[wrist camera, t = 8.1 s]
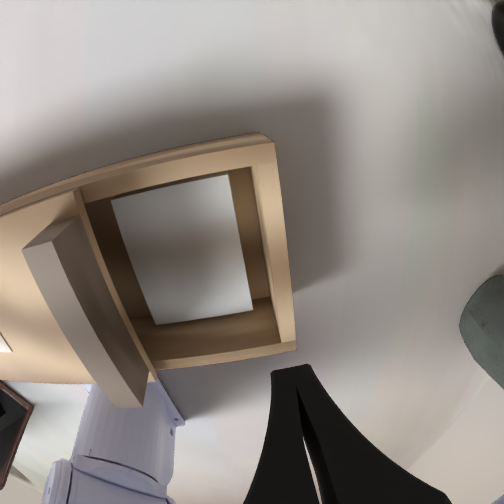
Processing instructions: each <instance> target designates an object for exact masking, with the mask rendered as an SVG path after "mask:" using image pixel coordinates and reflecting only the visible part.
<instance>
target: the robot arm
mask: <svg viewBox="0 0 504 504" xmlns="http://www.w3.org/2000/svg"><path fill="white" fill-rule="evenodd" d="M270 374H271V406H270V413H269V420H268V427H267V432H266V436H265V441H264V445H263V449H262V453H261V457H260V460H259V463H258V467H257V470H256V473H255V476H254V478H253V481H252V484H251V486H250V489H249V491H248V494H247V496H246V499H245V501H244V503H243V504H319V500H318V496H317V493H316V489H315V485H314V481H313V478H312V474H311V470H310V466H309V462H308V458H307V454H306V450H305V446H304V441H305V444H306V447H307V450H308V453H309V456H310V459H311V462H312V465H313V467H314V471H315V474H316V478H317V482H318V486H319V491H320V495H321V500H322V504H452V503H451V501H450V500H449V498H448V497H447V496H446V494H445V493H443V492H442V491H440V490H438V489H436V488H434V487H432V486H430V485H428V484H427V483H425V482H423V481H421V480H420V479H418V478H416V477H415V476H413V475H412V474H410V473H409V472H407V471H406V470H404V469H403V468H402V467H400V466H399V465H397V464H396V463H395V462H393V461H392V460H391V459H389V458H388V457H387V456H386V455H384V454H383V453H382V452H381V451H380V450H379V449H377V448H376V447H375V446H374V445H373V444H372V443H371V442H370V441H369V440H368V439H366V438H365V437H364V436H363V435H362V434H361V433H360V432H359V430H358V429H357V428H356V427H355V426H354V425H353V424H352V423H351V422H350V421H349V420H348V418H347V417H346V416H345V415H344V414H343V413H342V411H341V410H340V409H339V408H338V406H337V405H336V404H335V403H334V401H333V400H332V399H331V397H330V396H329V395H328V393H327V392H326V390H325V389H324V387H323V386H322V384H321V383H320V381H319V380H318V378H317V376H316V375H315V373H314V371H313V369H312V367H311V365H309V364H304V365H300V366H295V367H290V368H285V369H280V370H274V371H272V372H271V373H270ZM82 385H83V386H84V387H85V389H86V390H87V391H88V392H89V396H88V399H87V402H86V405H85V409H84V412H83V415H82V419H81V422H80V426H79V429H78V433H77V437H76V441H75V445H74V448H73V452H72V457H71V459H70V460H69V461H68V460H66V459H63V458H62V459H60V460H59V461H56V462H54V463H53V464H52V466H51V469H50V471H49V474H48V477H47V480H46V483H45V487H44V491H43V496H42V502H41V504H176V503H175V501H174V500H173V499H172V498H171V497H169V496H167V495H166V493H167V485H168V483H169V482H170V480H171V478H172V475H173V467H174V447H175V430H176V427H180V426H184V425H185V421H184V420H183V418H182V417H181V415H180V414H179V412H178V410H177V409H176V407H175V406H174V404H173V402H172V401H171V399H170V397H169V396H168V394H167V392H166V391H165V389H164V387H163V386H162V384H161V382H160V380H159V379H158V377H157V378H156V382H147V386H146V392H145V398H144V403H143V407H128V408H115V407H114V405H113V404H112V403H111V402H110V400H109V399H108V398H107V397H106V395H105V394H104V393H103V391H102V390H101V389H100V387H99V386H98V385H97V384H82ZM303 438H304V441H303ZM491 504H504V495H502V496H501V497H500V498H498V499H497V500H496V501H494V502H493V503H491Z"/></svg>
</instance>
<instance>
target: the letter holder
mask: <svg viewBox="0 0 504 504" xmlns="http://www.w3.org/2000/svg"><path fill="white" fill-rule="evenodd" d="M33 409H34V406H32V405H31V404H30V403H28V402H27V401H26V400H24V399H23V398H22V397H20V396H19V395H18V394H17V393H15V392H14V391H13V390H12V389H10V388H9V387H8V386H7V385H5V384H4V383H3V382H2V381H1V380H0V490H2V489H3V487H4V486H5V483H6V481H7V477H8V474H9V471H10V469H11V466H12V463H13V460H14V457H15V455H16V452H17V449H18V446H19V443H20V441H21V439H22V436H23V433H24V431H25V428H26V425H27V423H28V420H29V418H30V416H31V414H32V412H33Z"/></svg>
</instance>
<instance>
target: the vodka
mask: <svg viewBox="0 0 504 504" xmlns="http://www.w3.org/2000/svg"><path fill="white" fill-rule="evenodd" d="M459 327H460V332H461V335H462V337H463V340H464V343H465V344H466V346H467V348H468V349H469V351H470V353H471V355H472V356H473V358H474V360H475V361H476V362H477V363H478V364H479V365H480V366H481V367H482V368H483V369H484V370H485V371H486V372H487V373H488V374H489V375H490V376H491V377H492V378H493V379H494V380H495V381H496V382H497V383H498V384H499V385H500V386H501V387H502V388H503V389H504V276H502V275H500V276H495V277H493V278H491V279H489V280H487V281H486V282H485V283H484V284H483V285H482V286H481V287H479V289H478V290H477V291H476V292H475V293H474V295H473V296H472V297H471V299H470V300H469V302H468V303H467V305H466V307H465V309H464V311H463V313H462V316H461V319H460V324H459Z"/></svg>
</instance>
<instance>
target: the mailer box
mask: <svg viewBox="0 0 504 504" xmlns="http://www.w3.org/2000/svg"><path fill="white" fill-rule="evenodd" d="M78 187H79V190H80V193H81V196H82V200H83V203H84V206H85V209H86V212H87V215H88V218H89V221H90V224H91V227H92V230H93V233H94V236H95V238H96V241H97V244H98V247H99V249H100V252H101V255H102V257H103V260H104V262H105V265H106V267H107V270H108V272H109V275H110V277H111V280H112V282H113V284H114V287H115V289H116V291H117V294H118V296H119V298H120V301H121V303H122V305H123V307H124V309H125V312H126V314H127V316H128V318H129V320H130V322H131V324H132V326H133V329H134V331H135V333H136V335H137V337H138V339H139V341H140V343H141V345H142V347H143V348H144V350H145V352H146V354H147V356H148V358H149V360H150V362H151V364H152V365H153V367H154V369H155V370H166V369H176V368H185V367H194V366H202V365H210V364H218V363H225V362H231V361H238V360H244V359H250V358H256V357H262V356H268V355H273V354H278V353H284V352H289V351H294V350H297V346H296V333H295V322H294V310H293V299H292V289H291V278H290V268H289V259H288V249H287V240H286V231H285V222H284V214H283V205H282V197H281V189H280V181H279V173H278V166H277V158H276V151H275V144H274V142H273V141H272V140H270V139H269V138H267V137H265V136H264V135H262V134H261V133H259V132H258V133H251V134H245V135H239V136H233V137H227V138H222V139H216V140H211V141H206V142H201V143H196V144H191V145H186V146H182V147H177V148H173V149H169V150H164V151H160V152H156V153H152V154H148V155H144V156H140V157H137V158H133V159H129V160H126V161H122V162H119V163H115V164H112V165H108V166H105V167H102V168H99V169H95V170H92V171H89V172H86V173H83V174H80V175H77V176H74V177H71V178H68V179H65V180H63V181H60V182H57V183H54V184H51V185H49V186H46V187H43V188H41V189H38V190H36V191H33V192H31V193H28V194H26V195H23V196H21V197H18V198H16V199H14V200H11V201H9V202H7V203H4V204H2V205H1V206H0V216H2V215H4V214H7V213H9V212H12V211H14V210H17V209H19V208H22V207H24V206H27V205H30V204H32V203H35V202H38V201H40V200H43V199H46V198H49V197H52V196H54V195H57V194H60V193H63V192H66V191H69V190H72V189H75V188H78Z"/></svg>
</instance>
